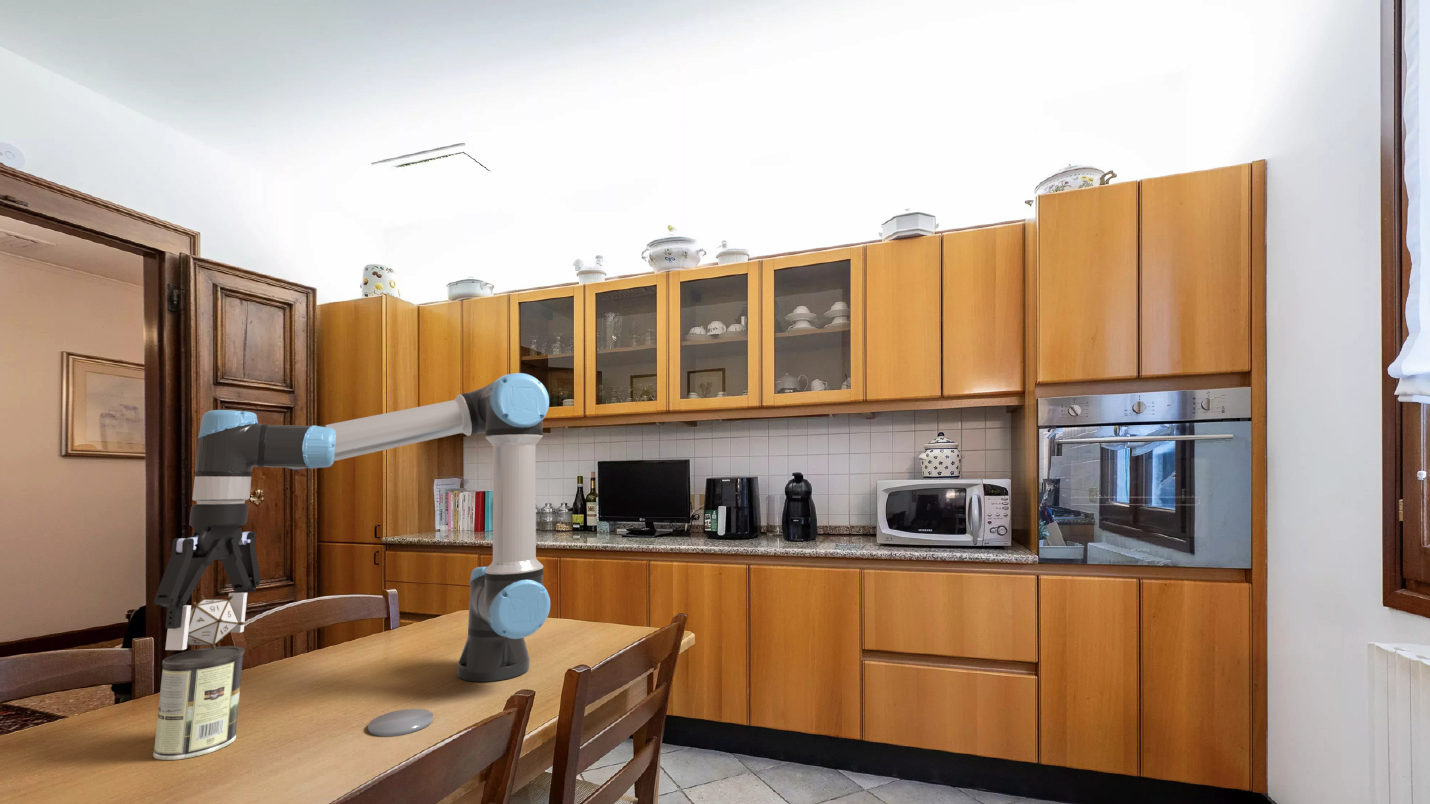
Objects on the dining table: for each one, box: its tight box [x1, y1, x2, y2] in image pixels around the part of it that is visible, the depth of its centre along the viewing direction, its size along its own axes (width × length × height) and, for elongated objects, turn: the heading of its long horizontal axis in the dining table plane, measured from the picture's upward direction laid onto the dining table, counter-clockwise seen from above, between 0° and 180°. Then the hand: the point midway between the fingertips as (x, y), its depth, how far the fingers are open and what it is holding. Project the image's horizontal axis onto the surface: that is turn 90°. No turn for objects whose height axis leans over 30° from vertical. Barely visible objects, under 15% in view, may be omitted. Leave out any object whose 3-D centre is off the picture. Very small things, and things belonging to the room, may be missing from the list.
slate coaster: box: [367, 708, 434, 737], centre depth 106 cm, size 10×10×1 cm
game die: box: [187, 594, 246, 650], centre depth 99 cm, size 9×8×10 cm
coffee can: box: [152, 645, 246, 761], centre depth 98 cm, size 10×10×14 cm
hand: (206, 640), depth 99 cm, fingers open, 10 cm apart
